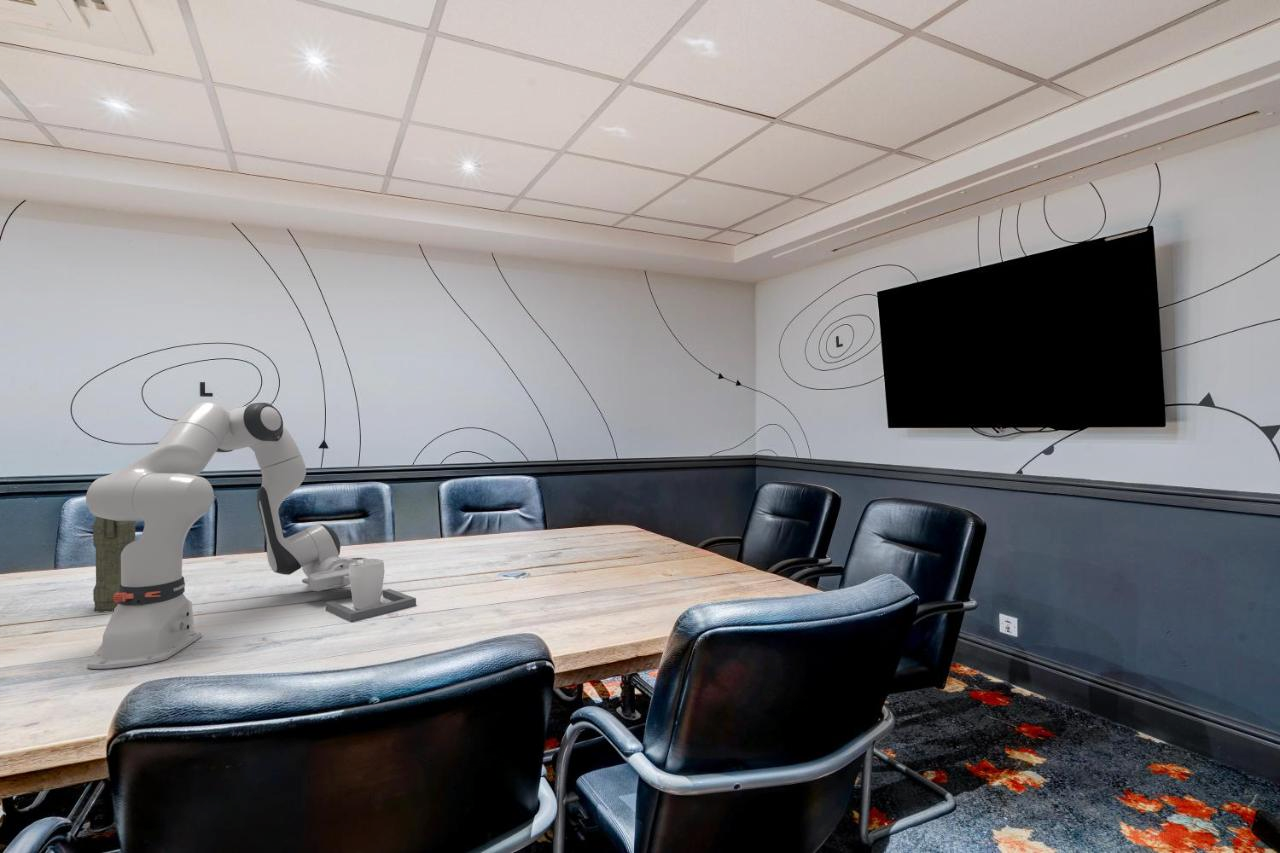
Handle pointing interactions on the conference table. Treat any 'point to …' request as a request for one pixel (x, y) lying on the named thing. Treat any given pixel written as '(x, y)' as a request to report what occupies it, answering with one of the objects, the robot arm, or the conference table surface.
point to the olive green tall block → (109, 559)
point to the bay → (398, 603)
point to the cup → (366, 582)
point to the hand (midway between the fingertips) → (359, 581)
